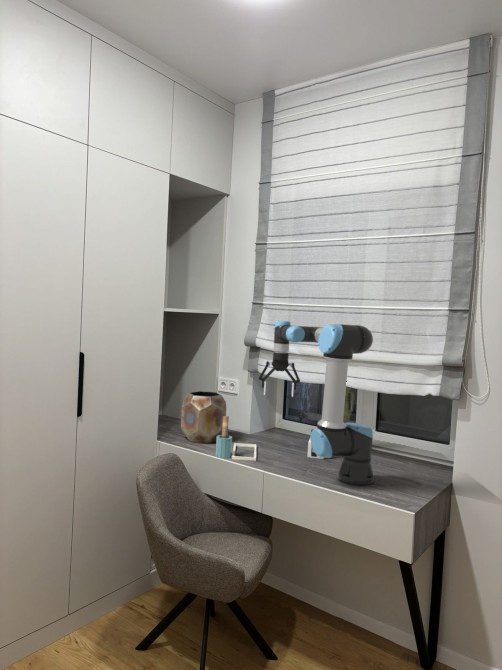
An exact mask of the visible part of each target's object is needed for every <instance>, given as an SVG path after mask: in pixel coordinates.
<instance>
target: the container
mask: <svg viewBox="0 0 502 670" xmlns="http://www.w3.org/2000/svg"><path fill="white" fill-rule="evenodd" d="M314 429H315V428H313V429H311V430H310V433H311V432H312V431H313V430H314ZM307 443H308V445H307V458H311V459H321V460H324V459H325V458H322V457H319V456H317V455H316V453H315V452H314V450H313V448H312V446H311V440H310V438H309V440H308V442H307Z"/></svg>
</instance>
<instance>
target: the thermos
mask: <svg viewBox="0 0 502 670" xmlns="http://www.w3.org/2000/svg"><path fill="white" fill-rule="evenodd" d="M354 402H355V393H354V391H353V390H352V387H351V388H348V387H346V393H345V404H344V415H343V422H344V423H351V422H350V420H351V419H350V417H351V416H352V413H353V411H354V406H355V404H354Z"/></svg>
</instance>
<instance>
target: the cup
mask: <svg viewBox="0 0 502 670" xmlns="http://www.w3.org/2000/svg"><path fill="white" fill-rule="evenodd" d="M215 442H216V444H215V457H216V458H219V459H230V458H232V450H233V447H232V445H233V436H231V435H227V438H222V435H218V436H217V440H216V441H215Z"/></svg>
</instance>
